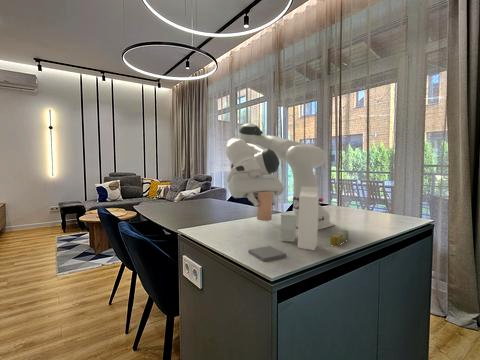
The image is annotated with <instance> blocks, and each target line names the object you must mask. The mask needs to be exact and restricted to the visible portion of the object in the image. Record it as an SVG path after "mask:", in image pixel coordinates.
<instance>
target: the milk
mask: <svg viewBox="0 0 480 360" xmlns="http://www.w3.org/2000/svg"><path fill="white" fill-rule="evenodd" d="M319 198H320V195H319V189H318V188H317V187H301V192H300V195H299V218H298V228H297V249H302V250H310V251H315V250H316V248H317V246H318V233H319V232H318V231H319V230H318V204H319V203H320V202H319ZM319 205H320V204H319Z"/></svg>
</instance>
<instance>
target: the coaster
mask: <svg viewBox="0 0 480 360" xmlns="http://www.w3.org/2000/svg"><path fill="white" fill-rule="evenodd" d="M247 252H248V254H250V255H252V256H254V258H257V259H258V260H260V261H262V262H267V261H273V260H276V259H277V260H278V259H283V258H286V257H287V253H286V252H284V251H281V250H280V249H278V248H275V247H274V246H271V245H268V246H267V245H266V246H261V247H257V248H256V247H255V248H251V249H248V251H247Z"/></svg>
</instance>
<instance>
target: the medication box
mask: <svg viewBox="0 0 480 360" xmlns="http://www.w3.org/2000/svg"><path fill="white" fill-rule="evenodd" d="M346 240H348V241H349V231H348V230H346V229H345V230H343V229H341V230H339V231H338V232H336V233H334V234H332V235H331V236H330V246H331V245H333V246H332V247H334V246H339V245H340V244H341V243H343V242H345V241H346ZM346 242H347V241H346ZM346 242H345V243H346ZM343 244H344V243H343ZM340 246H341V245H340ZM340 246H339V247H340Z"/></svg>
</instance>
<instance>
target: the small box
mask: <svg viewBox="0 0 480 360" xmlns="http://www.w3.org/2000/svg"><path fill="white" fill-rule="evenodd" d="M295 225H296V214H295V212H292V211H284V210H283V211H281V215H280V242H290V243H291V242H292V243H294V242H296V227H295Z"/></svg>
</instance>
